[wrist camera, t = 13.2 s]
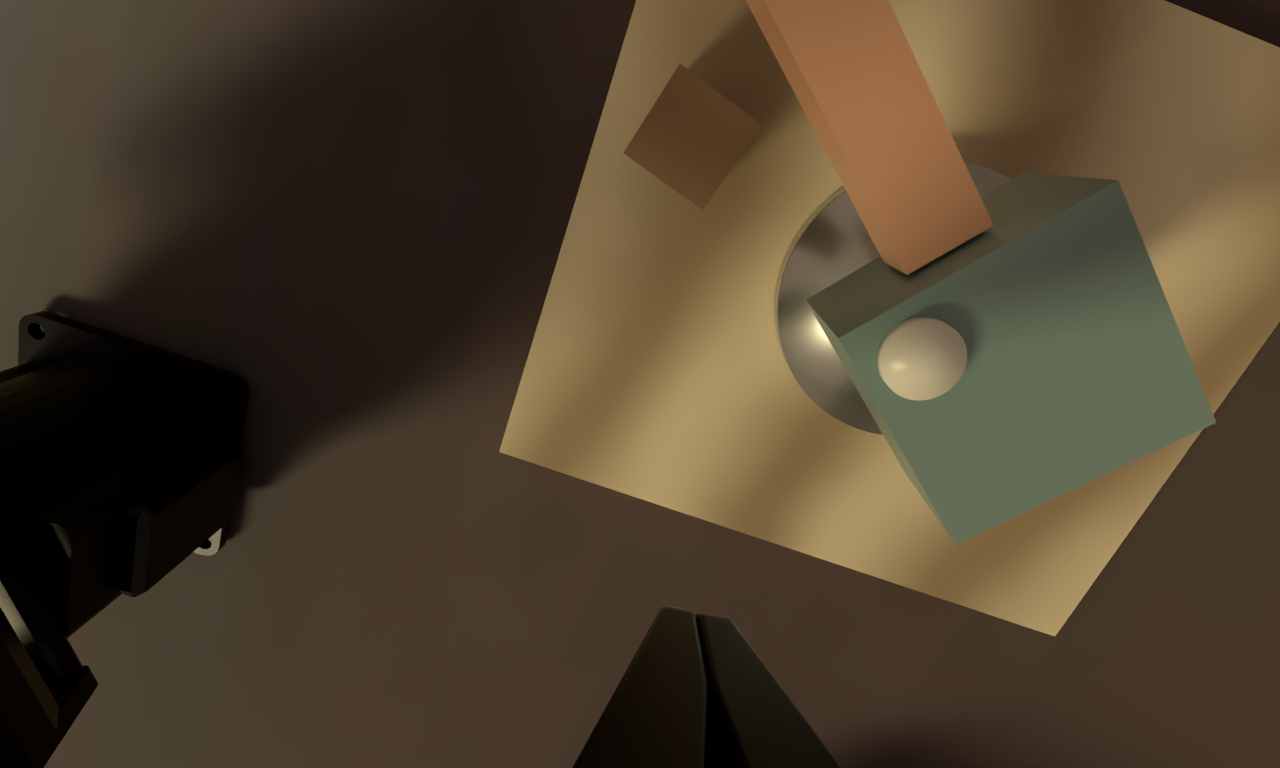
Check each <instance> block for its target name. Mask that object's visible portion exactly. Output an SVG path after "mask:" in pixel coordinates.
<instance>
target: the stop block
mask: <svg viewBox="0 0 1280 768" xmlns="http://www.w3.org/2000/svg"><path fill="white" fill-rule="evenodd" d="M761 126H762V125H761V124H760V123H758V122H757V121H756V120H754V119H753V118H752V117H750V116H749V115H748V114H747V113H745V112H744V111H743V110H741V109H740V108H739V107H737V106H736V105H735V104H733V103H732V102H731V101H729V100H728V99H727V98H725V97H724V96H723V95H721V94H720V93H719V92H717V91H716V90H715V89H713V88H712V87H711V86H709V85H708V84H707V83H705V82H704V81H703V80H701V79H700V78H699V77H698V76H696V75H695V74H694V73H692V72H691V71H690V70H688V69H687V68H686V67H684V66H683V65H682V64H679V66H678V67H677V69H676V70H675V72H674V74H673V75H672V77H671V78H670V80H669V82H668V83H667V85H666V86H665V88H664V89H663V91H662V93H661V94H660V96H659V97H658V99H657V101H656V102H655V104H654V105H653V107H652V108H651V110H650V112H649V113H648V115H647V116H646V118H645V119H644V121H643V123H642V124H641V126H640V127H639V129H638V131H637V132H636V134H635V135H634V137H633V138H632V140H631V142H630V143H629V145H628V146H627V148H626V149H625V151H624V154H625V155H627V156H628V157H629V158H631V159H632V160H633V161H635V162H636V163H638V164H639V165H640V166H642V167H643V168H645V169H646V170H647V171H649V172H650V173H652V174H653V175H654V176H656V177H657V178H659V179H660V180H661V181H663V182H664V183H666V184H667V185H668V186H670V187H671V188H672V189H674V190H675V191H677V192H678V193H679V194H681V195H682V196H684V197H685V198H686V199H688V200H689V201H691V202H692V203H693V204H695V205H696V206H698V207H699V208H700V209H702V210H703V209H704V208H705V206H706V205H707V203H708V202H709V200H710V199H711V198H712V196H713V195H714V193H715V192H716V190H717V189H718V188H719V186H720V185H721V183H722V182H723V180H724V179H725V177H726V176H727V175H728V173H729V172H730V170H731V169H732V167H733V166H734V165H735V163H736V162H737V160H738V159H739V157H740V156H741V154H742V153H743V152H744V150H745V149H746V147H747V146H748V144H749V143H750V142H751V140H752V139H753V137H754V136H755V134H756V133H757V131H758V130H759V129H760V127H761Z"/></svg>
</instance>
